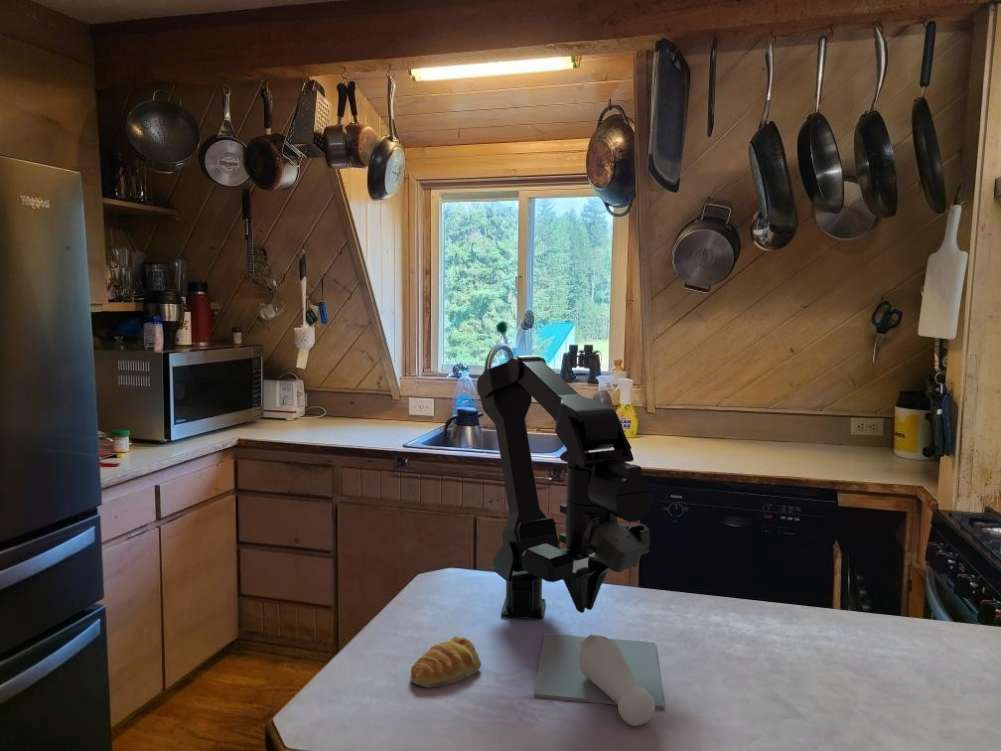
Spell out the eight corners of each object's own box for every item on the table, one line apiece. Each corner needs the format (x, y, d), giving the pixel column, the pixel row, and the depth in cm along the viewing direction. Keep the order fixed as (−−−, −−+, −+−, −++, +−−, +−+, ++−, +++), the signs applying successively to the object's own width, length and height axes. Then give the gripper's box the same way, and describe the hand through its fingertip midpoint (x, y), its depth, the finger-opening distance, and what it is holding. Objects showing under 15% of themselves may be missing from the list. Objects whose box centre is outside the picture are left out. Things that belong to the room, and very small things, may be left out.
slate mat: (544, 635, 105) (544, 633, 105) (655, 645, 103) (655, 642, 103) (533, 696, 90) (533, 693, 90) (664, 709, 87) (664, 706, 87)
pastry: (431, 699, 89) (431, 670, 89) (398, 678, 94) (397, 651, 93) (485, 671, 96) (485, 644, 95) (451, 653, 100) (451, 627, 100)
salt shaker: (618, 635, 96) (672, 698, 84) (598, 671, 96) (649, 740, 84) (585, 623, 93) (636, 687, 82) (564, 661, 94) (611, 729, 82)
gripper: (581, 530, 84) (577, 655, 86) (680, 502, 95) (675, 613, 97) (519, 506, 92) (517, 621, 94) (617, 483, 104) (613, 585, 106)
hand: (584, 610), depth 98 cm, fingers closed
